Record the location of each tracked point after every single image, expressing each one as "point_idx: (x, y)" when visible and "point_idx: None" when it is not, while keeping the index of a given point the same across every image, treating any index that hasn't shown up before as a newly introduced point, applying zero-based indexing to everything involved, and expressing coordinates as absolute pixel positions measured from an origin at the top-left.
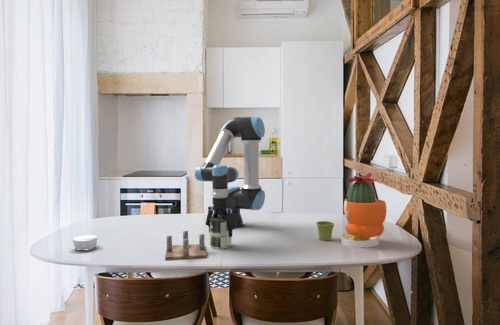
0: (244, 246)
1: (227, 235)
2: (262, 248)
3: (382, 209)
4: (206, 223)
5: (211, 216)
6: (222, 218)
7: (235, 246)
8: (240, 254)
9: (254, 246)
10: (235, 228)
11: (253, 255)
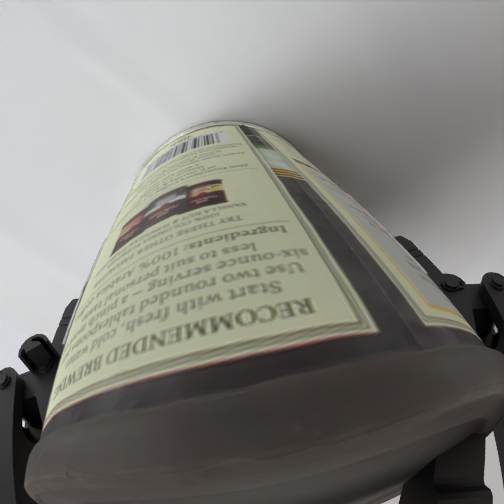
0: (398, 88)
1: None
2: (494, 69)
3: None
4: (42, 426)
5: (28, 501)
6: (344, 500)
7: (341, 134)
8: (450, 244)
9: (447, 49)
10: (498, 279)
11: (498, 209)
